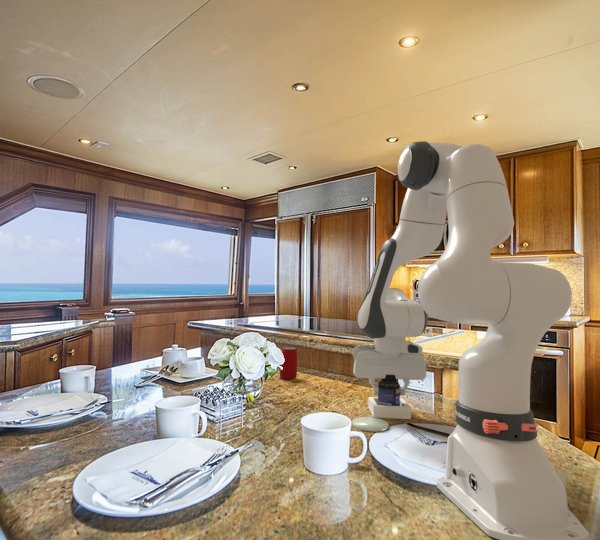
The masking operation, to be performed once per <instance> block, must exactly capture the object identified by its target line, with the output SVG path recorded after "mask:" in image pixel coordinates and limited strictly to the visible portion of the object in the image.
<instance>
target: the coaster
mask: <svg viewBox="0 0 600 540" xmlns="http://www.w3.org/2000/svg"><path fill="white" fill-rule="evenodd" d="M351 422H352V423H351V424H352V426H353V428H355V429H357V430H360V431H363V432H368V433H369V432H372V433H376V432H377V433H378V432H379V431H381V430H383V429H386V428H388V429H389V422H387V421H386V420H384V419H383V418H374V417H372V416H359V417H356V418H354V419H352V421H351ZM381 432H382V431H381ZM379 433H380V432H379Z"/></svg>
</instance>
